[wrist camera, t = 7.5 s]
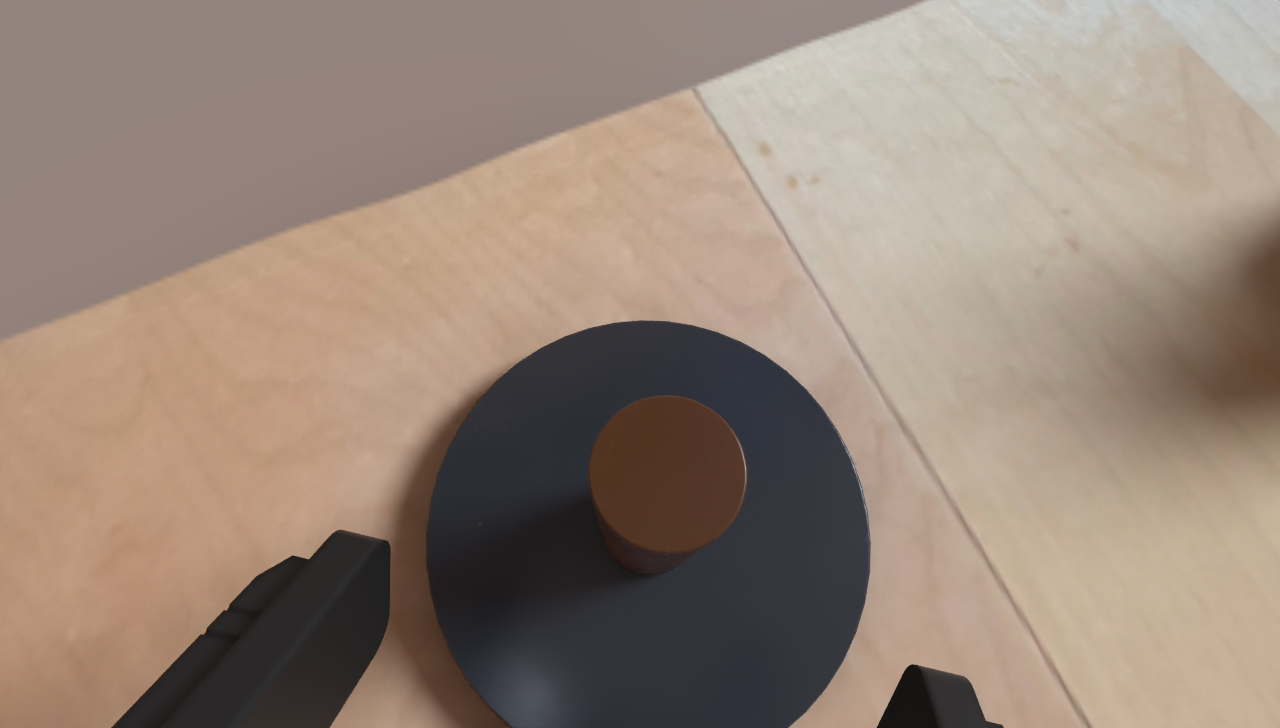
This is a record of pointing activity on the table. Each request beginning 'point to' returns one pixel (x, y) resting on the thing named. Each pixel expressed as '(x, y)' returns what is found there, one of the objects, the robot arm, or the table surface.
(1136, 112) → the table surface
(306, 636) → the robot arm
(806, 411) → the lid
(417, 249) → the table surface
